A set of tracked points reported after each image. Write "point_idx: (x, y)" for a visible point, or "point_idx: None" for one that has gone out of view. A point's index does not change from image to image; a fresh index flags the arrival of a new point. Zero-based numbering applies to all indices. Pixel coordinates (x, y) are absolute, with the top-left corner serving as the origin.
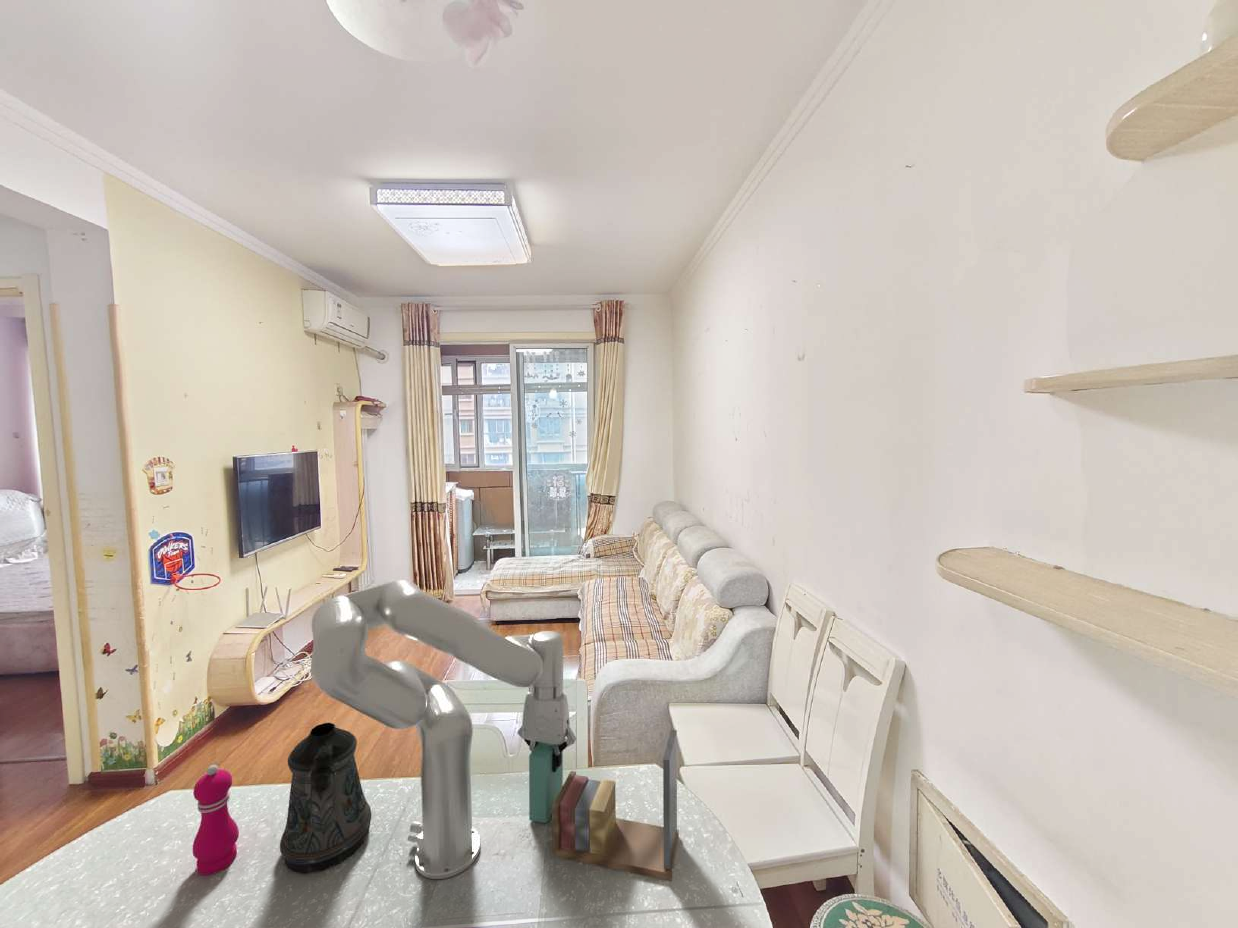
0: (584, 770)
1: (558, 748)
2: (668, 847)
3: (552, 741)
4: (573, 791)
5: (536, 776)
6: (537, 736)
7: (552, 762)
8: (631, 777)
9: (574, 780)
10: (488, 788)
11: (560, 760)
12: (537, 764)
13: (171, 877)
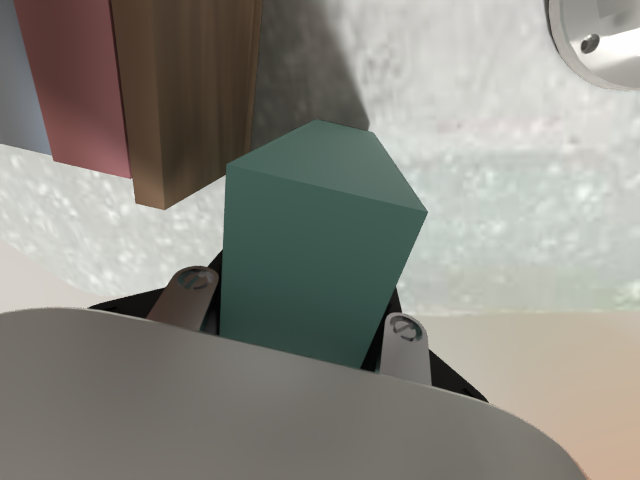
0: None
1: (160, 298)
2: None
3: (108, 342)
4: (65, 7)
5: (346, 152)
6: (345, 443)
7: None
8: (138, 290)
9: (109, 126)
10: (511, 266)
11: None
12: (334, 168)
13: None
